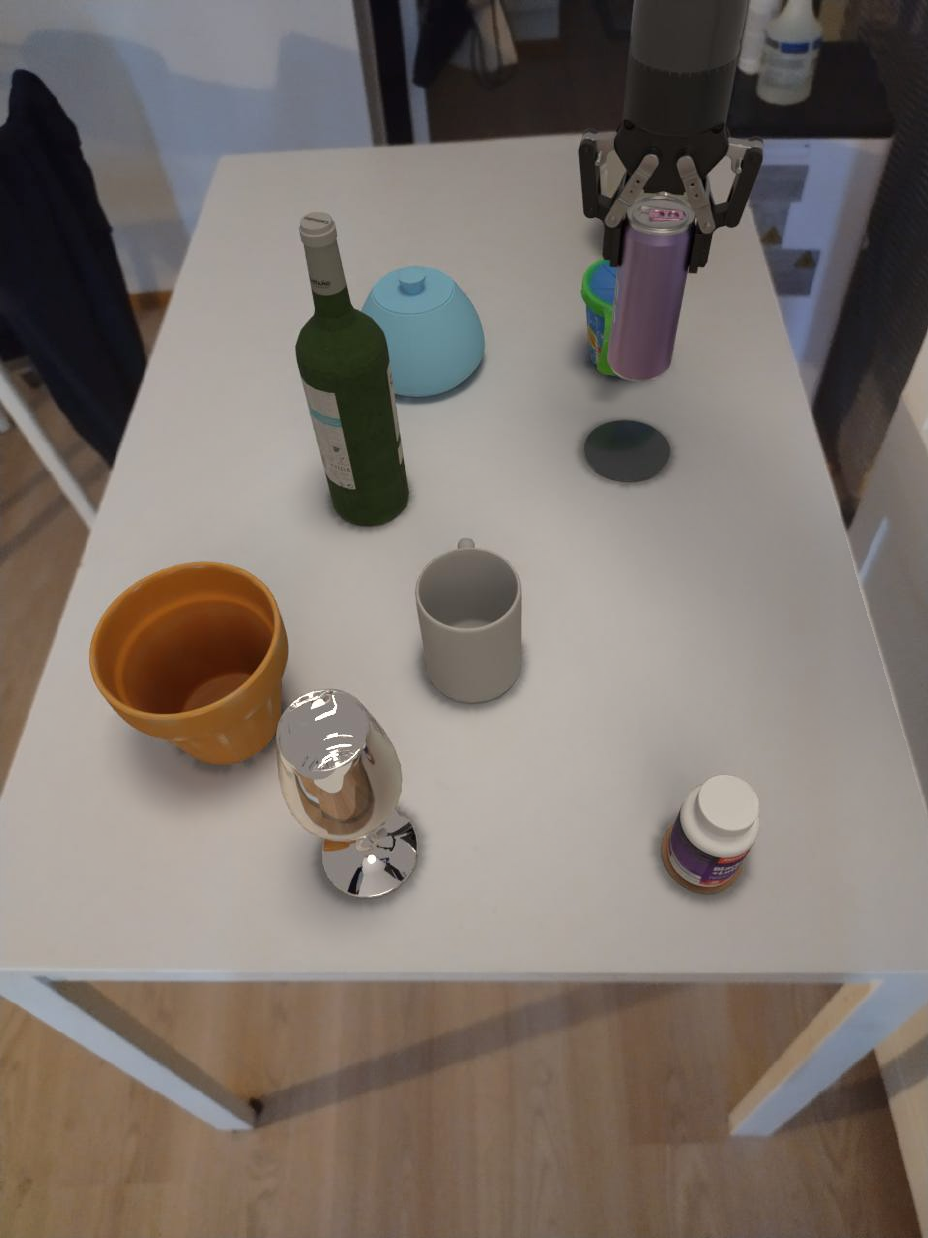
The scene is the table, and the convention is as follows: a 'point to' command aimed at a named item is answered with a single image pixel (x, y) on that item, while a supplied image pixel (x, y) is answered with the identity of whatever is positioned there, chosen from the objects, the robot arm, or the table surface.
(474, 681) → the mug
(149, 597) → the flower pot
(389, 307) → the sugar bowl
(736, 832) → the pill bottle
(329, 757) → the wineglass
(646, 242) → the beverage can
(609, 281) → the sippy cup
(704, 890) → the cork coaster
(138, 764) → the table surface
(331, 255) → the wine bottle
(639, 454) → the slate coaster
